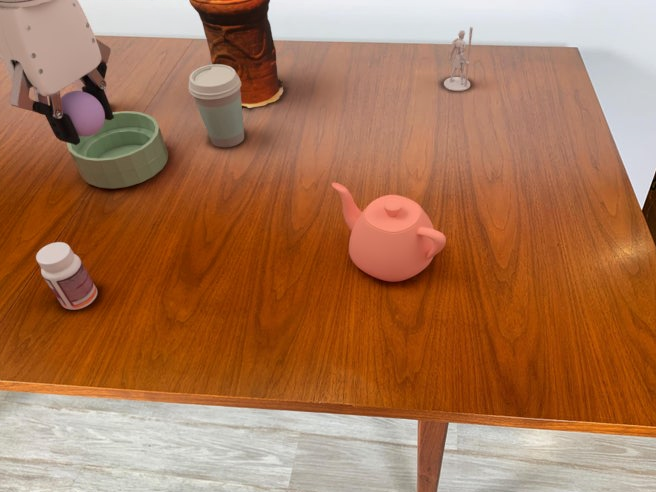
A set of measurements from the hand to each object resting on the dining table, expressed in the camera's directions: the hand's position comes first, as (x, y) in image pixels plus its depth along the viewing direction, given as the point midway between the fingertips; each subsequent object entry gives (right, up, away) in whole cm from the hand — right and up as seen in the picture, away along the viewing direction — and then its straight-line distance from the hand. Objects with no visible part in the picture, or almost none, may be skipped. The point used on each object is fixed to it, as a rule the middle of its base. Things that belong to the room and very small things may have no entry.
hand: (86, 127), depth 75 cm
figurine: (+53, +20, +41) cm, 70 cm away
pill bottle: (-3, -22, +3) cm, 23 cm away
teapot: (+39, -16, +9) cm, 43 cm away
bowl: (-5, 0, +24) cm, 24 cm away
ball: (0, +1, -2) cm, 2 cm away
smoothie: (-16, +13, +36) cm, 41 cm away
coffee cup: (+10, +6, +29) cm, 31 cm away
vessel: (+12, +18, +40) cm, 45 cm away
